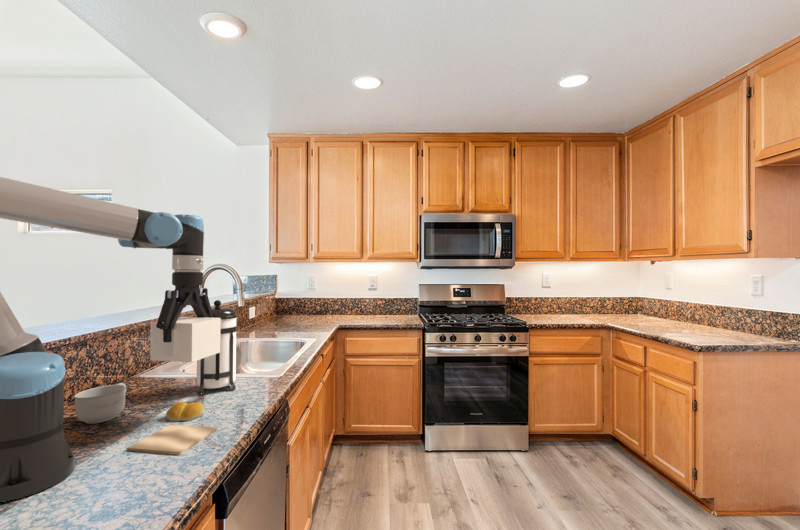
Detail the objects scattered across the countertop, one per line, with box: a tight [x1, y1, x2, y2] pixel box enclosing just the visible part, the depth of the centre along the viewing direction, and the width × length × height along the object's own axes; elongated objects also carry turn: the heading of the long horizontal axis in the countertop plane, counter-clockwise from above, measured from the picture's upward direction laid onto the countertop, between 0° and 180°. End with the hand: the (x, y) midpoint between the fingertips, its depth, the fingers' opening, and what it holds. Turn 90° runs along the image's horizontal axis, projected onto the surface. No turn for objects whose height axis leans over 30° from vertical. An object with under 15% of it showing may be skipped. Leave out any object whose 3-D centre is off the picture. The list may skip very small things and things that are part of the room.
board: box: [126, 423, 218, 456], centre depth 90 cm, size 13×13×1 cm
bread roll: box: [165, 401, 205, 422], centre depth 104 cm, size 8×9×4 cm
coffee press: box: [195, 299, 239, 395], centre depth 128 cm, size 17×16×30 cm
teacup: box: [73, 382, 127, 425], centre depth 103 cm, size 14×11×8 cm
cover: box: [149, 316, 221, 363], centre depth 104 cm, size 12×12×10 cm
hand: (186, 349), depth 104 cm, fingers closed on cover, 12 cm apart
